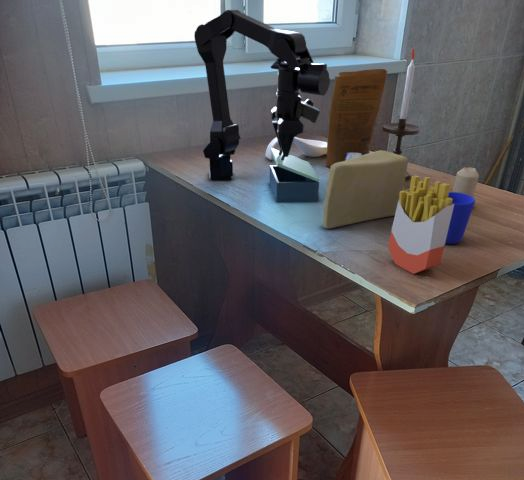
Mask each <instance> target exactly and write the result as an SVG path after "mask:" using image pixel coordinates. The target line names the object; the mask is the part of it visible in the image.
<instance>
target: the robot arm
mask: <svg viewBox="0 0 524 480" xmlns="http://www.w3.org/2000/svg"><path fill="white" fill-rule="evenodd" d="M235 32H236V33H238V34H240V35H242V36H244V37H246V38H249V39H251V40H253V41H255V42H257V43H259V44H261V45H263V46H264V47H266V48H267V50H269V52H270V53H271V54H272V55H274V56H275V57H276V60H275V62H274V63H272V64H271V65H270V69H273V70H277V85H276V87H277V88H276V92H275V98H276V102H275V103H276V105H275V106H274V107H273V108H272V109H271V110H270V119H271V120H272V121H271V122H272V126H273V129H274V132H275V136H276V137H277V139H278V146H279V150H280V149H281V148H282V152H283V155H284V157H288V155H290V151H291V149H292V146H293V139H294V137H297V136H298V135H300V134H303V133H304V127H305V126H304V124H303V121H301V118H304V119H305V120H308V121H310V122H311V123H313V124H316V123H317V120H318V118H319V115H320V112H321V110H320V109H319V108H317V106H314V101H313V100H311V99H309V98H306V100H305V101H304V100H303V101H302V97H301V96H300V92H301V93H303V94H308V95H309V94H310V95H314V96H315V95H317V96H322V97H323V96H325V95H326V94H327V93H328V92H329V91H328V90H329V88H330V84H331V78H330V72H329V70H328V64H327V63H315V62H314V60H313V57H312V55H311V53H310V51H309V49H308V47H307V41H306V37H305V36H304V34H302V33H301V32H298V31H292V30H287V29H279V28H276V27H273V26H271V25H269V24H267V23H264V22H262V21H260V20H258V19H256V18H254V17H252V16H250V15H248V14H245V13H242V12H241V11H240V10H239V9H225V10H224V11H223V12H222V13H221V14H219V15H217V16H216V17H214V18H213V19H211V20H209V21H207V22H206V23H202V24H199V25H198V26H197V27H196V30H195V31H194V34H193V36H194V37H193V38H194V42H195V46H196V51H197V53H198V55H199V57H200V58H201V60H202V61H203V64H204V65H205V72H206V79H207V86H208V93H209V94H208V95H209V100H210V108H211V115H212V123H211V127H210V130H209V143H208V144H207V145H206V146H205V147H204V149H202V152H203V155H204V156H203V157H204V158H205V159H209V180H210V181H219V180H220V181H222V180H223V181H225V180H227V181H231V180H232V177H233V175H234V168H233V167H234V166H233V165H234V163H233V160H232V159H231V158H232V157H231V156H232V155H235V153H236V150H237V148H238V146H239V144H240V140H241V139H242V138H241V135H240V126H239V124H238V123H236V124H234V122H233V120H232V119H231V114H230V106H229V98H228V92H227V82H226V75H225V66H224V59H225V55H226V53H227V45H228V44H227V40H228V39H230V38H231V37H232V36H233V35H234V34H235Z"/></svg>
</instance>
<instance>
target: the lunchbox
mask: <svg viewBox="0 0 524 480" xmlns="http://www.w3.org/2000/svg"><path fill="white" fill-rule="evenodd" d="M268 181H269V182H268V183H269V186H270V189H271V192H272V194H273V197H274V199H275V203H296V202H297V203H301V202H303V203H305V202H318V199H319V187H320V181H319V182H317V181H315V180H312V179H310V178H307V177H304V176H302V175H299V174H297V173H294V172H291V171H289V170H286V169H284V168H281V167H278V166H277V165H276V164H274V165H269V180H268Z"/></svg>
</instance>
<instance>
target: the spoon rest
mask: <svg viewBox="0 0 524 480" xmlns="http://www.w3.org/2000/svg"><path fill="white" fill-rule="evenodd" d="M292 144H294V145H295V146H296V147H297V148H298V149H299V150H300V151H301V152H302V153H303V155H304V156H306V157H311V158H318V157H321V156H323V155H325V154H326V155H327V141H322V140H316V139H307V138H306V139H305V138H301V137H297V136H296V137H294V139H293V142H292ZM277 145H279V143H278V139H277V136H276V137H274V138H273V139H272V140H271V141H270V142H269V144H268V145H267V147H266V150H265V154H264V155H265V157H266V158H267V159H268V160H271V161H272V160H274V158H273V156H272V153H271V151H270V148H274V149H276V146H277Z"/></svg>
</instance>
